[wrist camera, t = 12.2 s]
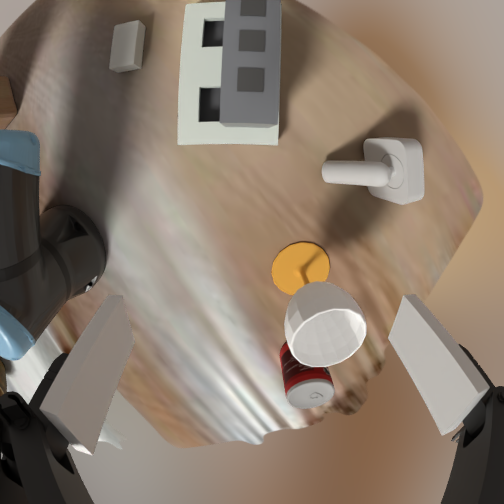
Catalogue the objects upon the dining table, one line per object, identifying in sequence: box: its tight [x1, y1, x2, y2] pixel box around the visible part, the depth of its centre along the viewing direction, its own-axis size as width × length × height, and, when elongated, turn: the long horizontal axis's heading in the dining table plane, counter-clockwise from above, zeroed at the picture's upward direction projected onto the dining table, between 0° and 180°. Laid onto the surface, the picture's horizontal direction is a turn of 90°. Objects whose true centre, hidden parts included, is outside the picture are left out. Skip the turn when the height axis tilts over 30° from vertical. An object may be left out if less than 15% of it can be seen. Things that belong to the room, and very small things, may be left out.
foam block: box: [109, 20, 146, 73], centre depth 25 cm, size 4×7×3 cm, turn 178°
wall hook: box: [322, 137, 424, 205], centre depth 31 cm, size 8×10×10 cm
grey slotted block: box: [220, 0, 281, 128], centre depth 23 cm, size 5×16×12 cm, turn 178°
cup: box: [271, 242, 366, 367], centre depth 34 cm, size 9×9×16 cm
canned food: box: [280, 342, 335, 409], centre depth 43 cm, size 8×8×11 cm
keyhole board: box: [178, 2, 282, 145], centre depth 28 cm, size 12×20×3 cm, turn 178°
